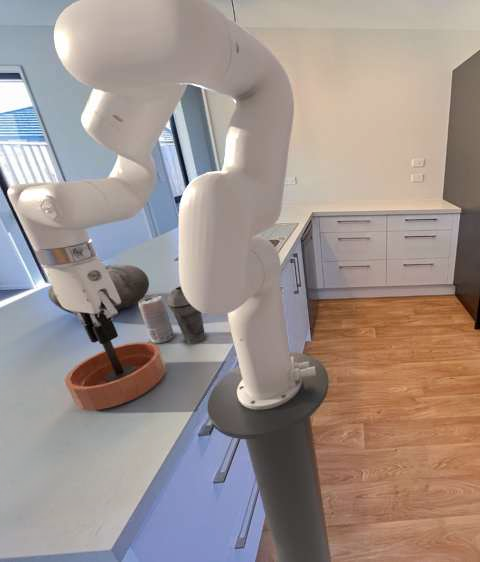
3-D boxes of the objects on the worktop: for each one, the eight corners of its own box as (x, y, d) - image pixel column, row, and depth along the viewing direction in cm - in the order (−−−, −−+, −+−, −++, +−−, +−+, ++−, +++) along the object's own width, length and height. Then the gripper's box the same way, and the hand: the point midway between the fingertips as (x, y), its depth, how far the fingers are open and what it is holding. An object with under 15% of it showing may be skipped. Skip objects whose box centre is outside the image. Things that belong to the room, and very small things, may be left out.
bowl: (176, 358, 75) (169, 337, 73) (149, 403, 61) (140, 380, 58) (103, 369, 71) (94, 348, 69) (57, 420, 57) (43, 396, 55)
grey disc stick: (141, 370, 68) (117, 309, 62) (130, 386, 64) (103, 321, 58) (115, 374, 67) (87, 312, 61) (102, 390, 63) (71, 325, 57)
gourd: (96, 324, 86) (71, 266, 82) (38, 329, 93) (12, 275, 88) (170, 295, 110) (154, 249, 105) (120, 301, 116) (102, 258, 112)
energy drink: (169, 331, 87) (157, 293, 82) (178, 336, 84) (165, 298, 79) (148, 339, 83) (134, 300, 78) (156, 346, 80) (142, 306, 75)
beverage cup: (176, 339, 83) (154, 272, 75) (204, 329, 87) (186, 264, 80) (185, 350, 78) (162, 279, 70) (214, 338, 83) (196, 270, 75)
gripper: (120, 250, 56) (151, 334, 63) (62, 246, 60) (97, 325, 67) (73, 263, 49) (114, 355, 56) (12, 257, 53) (57, 344, 60)
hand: (105, 339), depth 61 cm, fingers closed
